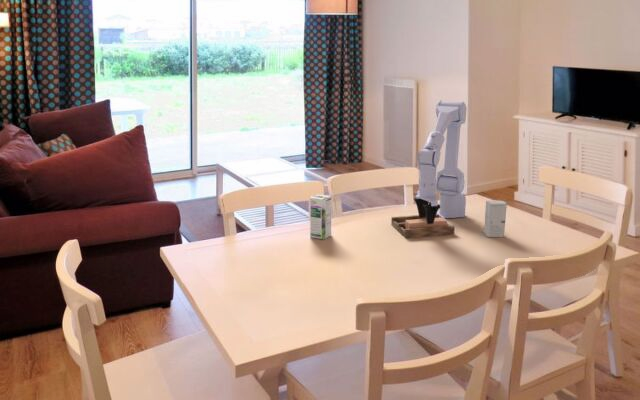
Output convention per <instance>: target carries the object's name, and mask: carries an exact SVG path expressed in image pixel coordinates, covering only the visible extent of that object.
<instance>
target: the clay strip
mask: <svg viewBox="0 0 640 400" xmlns="http://www.w3.org/2000/svg"><path fill="white" fill-rule="evenodd" d="M447 224H448V220H447V218H443V217H439V218H435V220H434V223H433V224H427V221H426V219H414V220H405V229H410V228H423V227H436V226H447Z"/></svg>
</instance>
